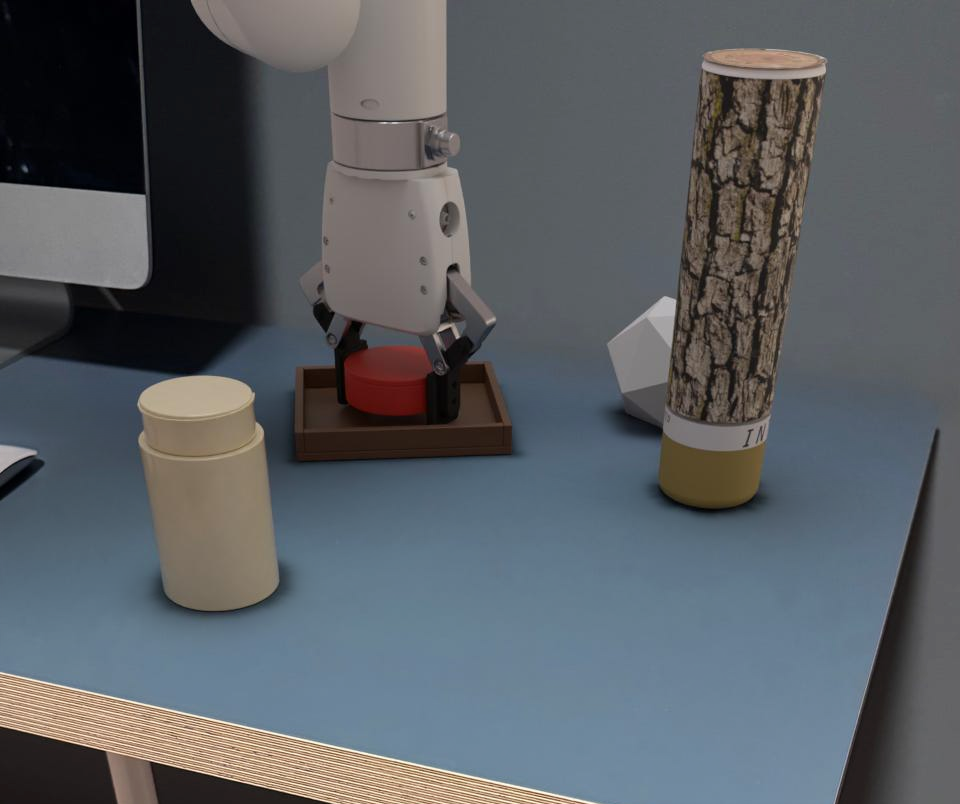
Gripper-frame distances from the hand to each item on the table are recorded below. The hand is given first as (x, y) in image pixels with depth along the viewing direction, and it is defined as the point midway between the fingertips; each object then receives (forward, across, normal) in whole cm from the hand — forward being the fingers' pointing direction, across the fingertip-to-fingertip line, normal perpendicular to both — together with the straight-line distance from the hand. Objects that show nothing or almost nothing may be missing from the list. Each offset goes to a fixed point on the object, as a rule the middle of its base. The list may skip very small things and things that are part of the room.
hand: (397, 409), depth 93 cm
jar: (+1, -6, +26) cm, 27 cm away
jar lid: (-3, 0, 0) cm, 3 cm away
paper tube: (+1, -24, -2) cm, 25 cm away
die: (+1, -16, -12) cm, 20 cm away
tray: (+1, 0, 0) cm, 1 cm away
